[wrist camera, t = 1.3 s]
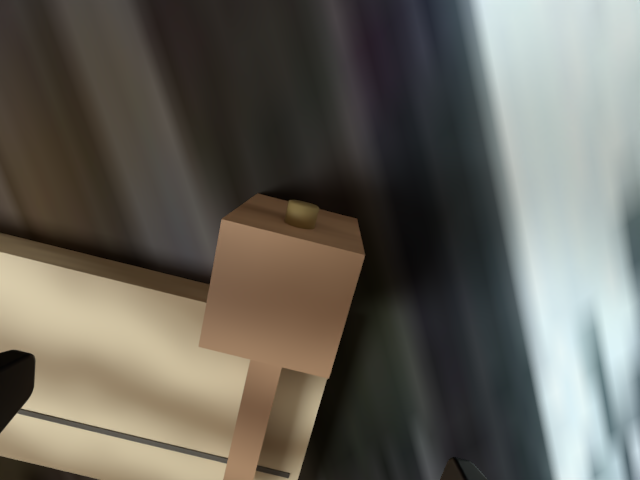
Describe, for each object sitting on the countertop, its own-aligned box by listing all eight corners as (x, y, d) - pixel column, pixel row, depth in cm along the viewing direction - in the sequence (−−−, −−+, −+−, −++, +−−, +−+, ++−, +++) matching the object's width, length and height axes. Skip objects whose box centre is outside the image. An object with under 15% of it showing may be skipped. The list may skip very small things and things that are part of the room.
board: (289, 491, 24) (284, 524, 22) (-170, 382, 23) (-218, 405, 21) (339, 316, 20) (339, 336, 18) (-191, 185, 20) (-250, 190, 18)
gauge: (289, 459, 23) (273, 569, 17) (207, 439, 23) (162, 543, 17) (361, 202, 19) (371, 233, 13) (260, 177, 19) (226, 196, 13)
